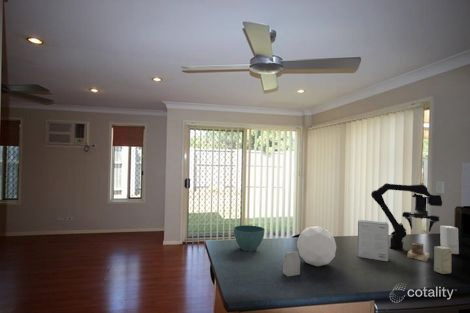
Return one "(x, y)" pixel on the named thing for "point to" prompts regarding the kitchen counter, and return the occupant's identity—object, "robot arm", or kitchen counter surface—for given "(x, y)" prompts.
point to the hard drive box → (373, 240)
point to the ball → (316, 246)
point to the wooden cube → (417, 248)
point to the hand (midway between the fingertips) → (420, 230)
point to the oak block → (418, 256)
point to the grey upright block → (291, 264)
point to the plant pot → (248, 237)
